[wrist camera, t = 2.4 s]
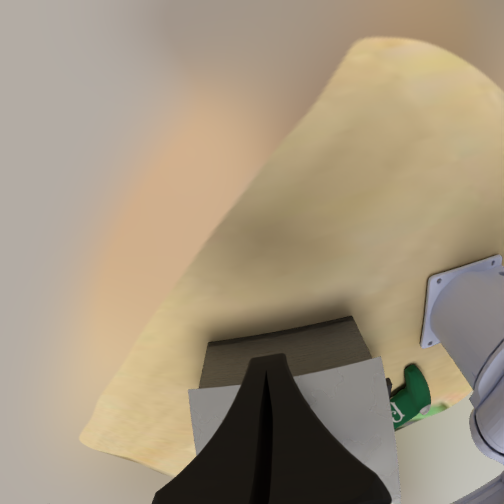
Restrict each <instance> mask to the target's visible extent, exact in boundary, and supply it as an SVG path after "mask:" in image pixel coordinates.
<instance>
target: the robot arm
mask: <svg viewBox="0 0 504 504" xmlns="http://www.w3.org/2000/svg"><path fill="white" fill-rule="evenodd" d="M501 264H502V256H501V255H499V254H498V255H495V256H492V257H489V258H486V259H483V260H480V261H477V262H474V263H471V264H468V265H465V266H462V267H459V268H456V269H452V270H449V271H446V272H443V273H439V274H436V275H433V276H431V277H430V278H429V280H428V288H427V298H426V308H425V316H424V324H423V330H422V337H421V343H420V346H421V347H422V348H423V349H424V348H427V347H430V346H433V345H436V344H438V343H441V344H442V345H443V347H444V348H445V349H446V351H447V352H448V354H449V355H450V356H451V358H452V359H453V361H454V362H455V364H456V365H457V366H458V368H459V369H460V371H461V372H462V374H463V375H464V377H465V378H466V380H467V381H468V383H469V384H470V386H471V387H472V389H473V391H474V392H473V394H472V395H471V397H470V398H469V400H470V401H471V403H472V405H473V406H474V409H473V410H472V412H471V414H470V420H469V424H470V431H471V435H472V438H473V441H474V443H475V445H476V446H477V447H478V449H479V450H480V451H481V452H482V453H483V454H484V455H486V456H487V457H489V458H491V459H494V460H496V461H498V462H500V463H501V464H503V465H504V267H503V266H502V265H501ZM438 279H439V280H438ZM437 280H438V281H437ZM391 503H392V497H391V495H390V493H389V491H388V489H387V487H386V486H385V484H384V483H383V482H382V480H381V479H380V478H379V476H378V475H377V474H376V473H375V472H374V471H372V470H371V469H370V468H368V467H367V466H366V465H364V464H363V463H362V462H361V461H359V460H358V459H357V458H356V457H355V456H354V455H353V454H351V453H350V452H349V451H348V450H347V449H346V448H345V447H344V446H343V445H342V444H341V443H340V442H339V441H338V440H337V439H336V438H335V437H334V436H333V435H332V434H331V433H330V431H329V430H328V429H327V428H326V427H325V426H324V424H323V423H322V422H321V421H320V419H319V418H318V417H317V416H316V414H315V413H314V411H313V410H312V409H311V407H310V406H309V404H308V403H307V401H306V400H305V398H304V396H303V395H302V393H301V391H300V389H299V388H298V386H297V384H296V382H295V380H294V378H293V376H292V374H291V371H290V369H289V366H288V363H287V358H286V354H284V353H279V354H273V355H267V356H261V357H255V358H251V359H250V360H249V364H248V367H247V370H246V373H245V376H244V378H243V381H242V383H241V386H240V388H239V390H238V392H237V395H236V397H235V399H234V401H233V403H232V405H231V407H230V409H229V410H228V412H227V414H226V416H225V418H224V419H223V421H222V423H221V424H220V426H219V427H218V429H217V430H216V432H215V433H214V435H213V436H212V438H211V439H210V440H209V441H208V443H207V444H206V445H205V447H204V448H203V449H202V450H201V452H200V453H199V454H198V455H197V456H196V457H195V458H194V459H193V460H192V461H191V462H190V463H189V464H188V465H187V466H186V467H185V468H184V469H183V470H182V471H181V472H180V473H179V474H178V475H177V476H176V477H175V478H174V479H173V480H172V481H170V482H169V483H168V484H166V485H165V486H164V487H163V488H161V489H160V490H159V491H157V492H156V493H155V496H154V499H153V501H152V504H391ZM451 504H504V471H503V472H502V473H501V474H500V475H499V476H497V477H496V478H495V479H493V480H491V481H490V482H488V483H487V484H485V485H483V486H482V487H480V488H478V489H477V490H475V491H473V492H472V493H470V494H468V495H466V496H464V497H463V498H461V499H459V500H457V501H455V502H453V503H451Z"/></svg>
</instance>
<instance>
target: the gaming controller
mask: <svg viewBox="0 0 504 504" xmlns="http://www.w3.org/2000/svg"><path fill="white" fill-rule="evenodd" d="M405 381H406V387H405V389H402V390H400V391H399V392H398V393H397V394H396V395H394V396H393V397H391V398H390V406H391V413H392V419H393V426H394V429H396V428H397V427H399V426H401V425H403V424H404V423H406V422H407V421H409V420H410V419H412V418H413V417H415V416H416V415H417V414H418V413H421V414H422V415H425V414H427V413H428V411H429V409H430V406H431V396H430V391H429V387H428V384H427V382H426V380H425V378H424V376H423V375H422V373H421V372H420V370H419V369H418V368H417V367H416V366H415V365H410V366H409V367H407V368H406V369H405Z"/></svg>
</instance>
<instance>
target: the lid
mask: <svg viewBox="0 0 504 504" xmlns="http://www.w3.org/2000/svg"><path fill="white" fill-rule="evenodd" d="M293 378H294V380H295V382H296V384H297V386H298V388H299V389H300V391H301V393H302V395H303V396H304V398H305V400H306V401H307V403H308V404H309V406H310V407H311V409H312V410H313V411H314V413H315V414H316V416H317V417H318V418H319V419H320V421H321V422H322V423H323V424H324V426H325V427H326V428H327V429H328V430H329V431H330V433H331V434H332V435H333V436H334V437H335V438H336V439H337V440H338V441H339V442H340V443H341V444H342V445H343V446H344V447H345V448H346V449H347V450H348V451H349V452H350V453H351V454H353V455H354V456H355V457H356V458H357V459H358V460H359V461H361V462H362V463H363V464H364V465H366V466H367V467H368V468H370V469H371V470H372V471H374V472H375V473H376V474H377V475H378V476H379V478H380V479H381V480H382V482H383V483H384V484H385V486H386V487H387V489H388V491H389V493H390V495H391V497H392V503H391V504H401V495H400V480H399V468H398V458H397V450H396V440H395V433H394V426H393V419H392V413H391V406H390V400H389V395H388V389H387V384H386V379H385V374H384V369H383V364H382V359H381V356H380V357H376V358H373V359H369V360H365V361H362V362H358V363H354V364H350V365H346V366H342V367H338V368H333V369H329V370H324V371H320V372H315V373H310V374H305V375H300V376H295V377H293ZM240 386H241V385H234V386H225V387H215V388H203V389H189V390H188V394H189V403H190V411H191V419H192V427H193V435H194V442H195V448H196V455H198V454H199V453H200V452H201V450H202V449H203V448H204V447H205V445H206V444H207V443H208V441H209V440H210V439H211V438H212V436H213V435H214V433H215V432H216V430H217V429H218V427H219V426H220V424H221V423H222V421H223V419H224V418H225V416H226V414H227V412H228V410H229V409H230V407H231V405H232V403H233V401H234V399H235V397H236V395H237V392H238V390H239V388H240Z"/></svg>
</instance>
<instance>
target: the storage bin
mask: <svg viewBox="0 0 504 504" xmlns="http://www.w3.org/2000/svg"><path fill="white" fill-rule="evenodd" d="M279 353H284V354H286V358H287V363H288V366H289V369H290V371H291V374H292V376H293V377H295V376H300V375H305V374H310V373H315V372H320V371H324V370H329V369H333V368H338V367H342V366H346V365H350V364H354V363H358V362H362V361H365V360H369V359H372V357H371V355H370V353H369V351H368V349H367V346H366V344H365V342H364V340H363V338H362V336H361V334H360V331H359V329H358V327H357V325H356V323H355V321H354V319H353V317H352V316H349V317H345V318H340V319H336V320H332V321H327V322H323V323H318V324H313V325H308V326H304V327H299V328H294V329H288V330H283V331H278V332H272V333H267V334H261V335H255V336H249V337H243V338H236V339H230V340H223V341H216V342H208V346H207V350H206V355H205V360H204V365H203V370H202V375H201V380H200V385H199V389H203V388H215V387H225V386H234V385H241V383H242V381H243V378H244V376H245V373H246V370H247V367H248V364H249V360H250V359H251V358H255V357H261V356H267V355H273V354H279ZM386 384H387V389H388V395H389V400H390V394H391V388H392V383H391V381H390V379H389V378H386Z"/></svg>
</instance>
